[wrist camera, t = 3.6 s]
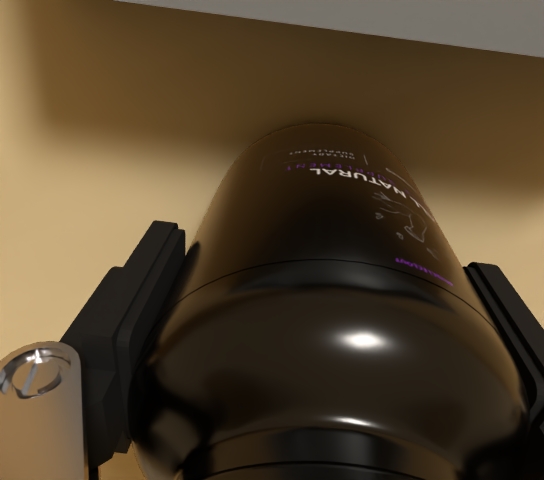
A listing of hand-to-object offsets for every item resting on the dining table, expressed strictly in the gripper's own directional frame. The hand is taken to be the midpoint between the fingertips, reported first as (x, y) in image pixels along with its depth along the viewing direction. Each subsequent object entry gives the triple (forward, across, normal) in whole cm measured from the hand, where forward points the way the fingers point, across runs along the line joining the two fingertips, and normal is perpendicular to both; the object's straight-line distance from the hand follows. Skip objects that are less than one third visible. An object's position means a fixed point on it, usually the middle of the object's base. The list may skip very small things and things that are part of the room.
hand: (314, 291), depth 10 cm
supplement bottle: (+5, 0, 0) cm, 5 cm away
